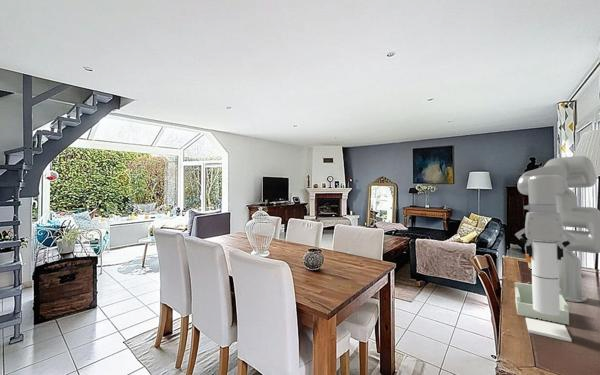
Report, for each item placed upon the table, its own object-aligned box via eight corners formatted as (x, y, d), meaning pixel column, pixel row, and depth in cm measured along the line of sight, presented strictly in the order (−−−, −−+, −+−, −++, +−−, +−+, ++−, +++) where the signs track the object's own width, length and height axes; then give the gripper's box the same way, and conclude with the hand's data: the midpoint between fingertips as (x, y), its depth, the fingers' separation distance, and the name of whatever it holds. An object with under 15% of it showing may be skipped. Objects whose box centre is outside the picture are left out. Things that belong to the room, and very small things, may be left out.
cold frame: (515, 302, 121) (514, 282, 121) (561, 310, 112) (560, 288, 112) (517, 314, 109) (516, 292, 109) (569, 325, 100) (568, 300, 100)
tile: (525, 320, 104) (525, 317, 104) (564, 328, 98) (564, 325, 98) (528, 332, 96) (528, 329, 96) (571, 342, 89) (571, 339, 89)
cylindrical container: (534, 312, 96) (532, 242, 96) (531, 304, 102) (529, 239, 102) (561, 317, 92) (559, 244, 92) (557, 309, 98) (554, 240, 98)
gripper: (512, 209, 99) (514, 256, 99) (579, 210, 89) (580, 263, 89) (511, 207, 106) (513, 252, 105) (573, 208, 95) (575, 258, 95)
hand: (544, 257), depth 97 cm, fingers closed on cylindrical container, 7 cm apart
